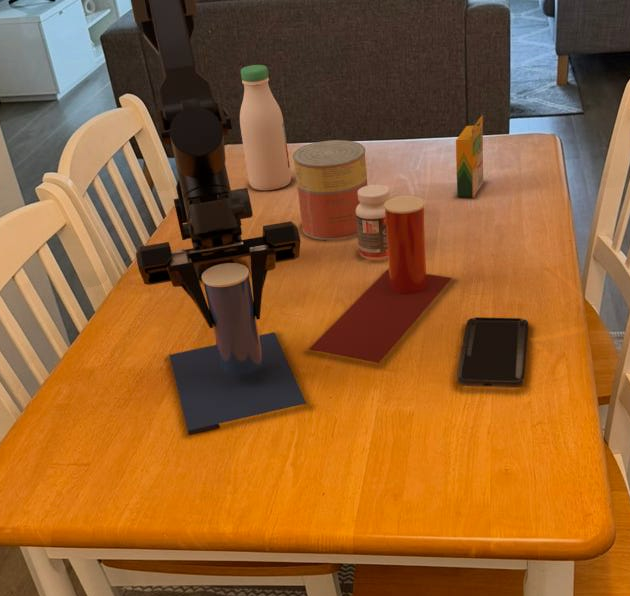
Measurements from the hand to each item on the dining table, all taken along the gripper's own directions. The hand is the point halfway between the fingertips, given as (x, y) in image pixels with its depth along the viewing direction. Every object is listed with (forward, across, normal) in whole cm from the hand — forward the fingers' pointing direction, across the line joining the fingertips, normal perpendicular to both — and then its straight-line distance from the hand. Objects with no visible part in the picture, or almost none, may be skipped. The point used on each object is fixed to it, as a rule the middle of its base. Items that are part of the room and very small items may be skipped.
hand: (234, 322), depth 103 cm
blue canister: (+4, 0, +6) cm, 7 cm away
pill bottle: (-15, +24, +28) cm, 40 cm away
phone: (+9, +30, +3) cm, 32 cm away
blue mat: (+5, -1, +7) cm, 9 cm away
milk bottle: (-40, +13, +54) cm, 68 cm away
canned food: (-24, +21, +37) cm, 48 cm away
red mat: (-1, +20, +14) cm, 25 cm away
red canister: (-6, +26, +18) cm, 32 cm away
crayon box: (-27, +45, +41) cm, 67 cm away
